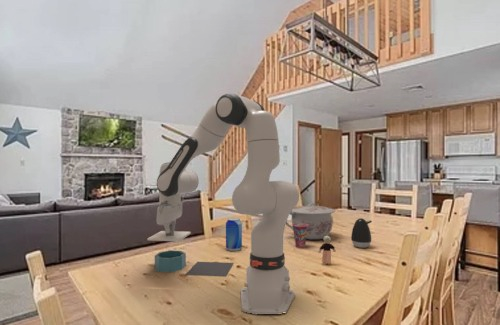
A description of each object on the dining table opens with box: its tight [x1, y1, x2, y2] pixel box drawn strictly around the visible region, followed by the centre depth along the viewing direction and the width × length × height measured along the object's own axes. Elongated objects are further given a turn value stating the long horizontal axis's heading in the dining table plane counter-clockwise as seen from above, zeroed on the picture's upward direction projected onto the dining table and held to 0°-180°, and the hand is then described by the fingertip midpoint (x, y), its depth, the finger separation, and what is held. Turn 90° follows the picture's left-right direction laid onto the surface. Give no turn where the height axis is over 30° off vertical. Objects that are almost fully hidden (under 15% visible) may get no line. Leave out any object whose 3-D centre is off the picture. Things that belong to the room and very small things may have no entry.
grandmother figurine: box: [317, 235, 337, 266], centre depth 141 cm, size 8×4×13 cm, turn 105°
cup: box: [291, 223, 310, 249], centre depth 170 cm, size 9×8×12 cm
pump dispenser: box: [350, 218, 373, 249], centre depth 169 cm, size 10×10×15 cm
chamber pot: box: [285, 202, 336, 241], centre depth 191 cm, size 28×28×21 cm
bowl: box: [154, 249, 187, 273], centre depth 137 cm, size 12×12×6 cm
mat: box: [184, 261, 235, 278], centre depth 135 cm, size 17×17×1 cm
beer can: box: [225, 217, 243, 252], centre depth 166 cm, size 8×8×16 cm
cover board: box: [146, 223, 192, 242], centre depth 137 cm, size 14×14×5 cm
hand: (170, 231), depth 137 cm, fingers closed on cover board, 4 cm apart
